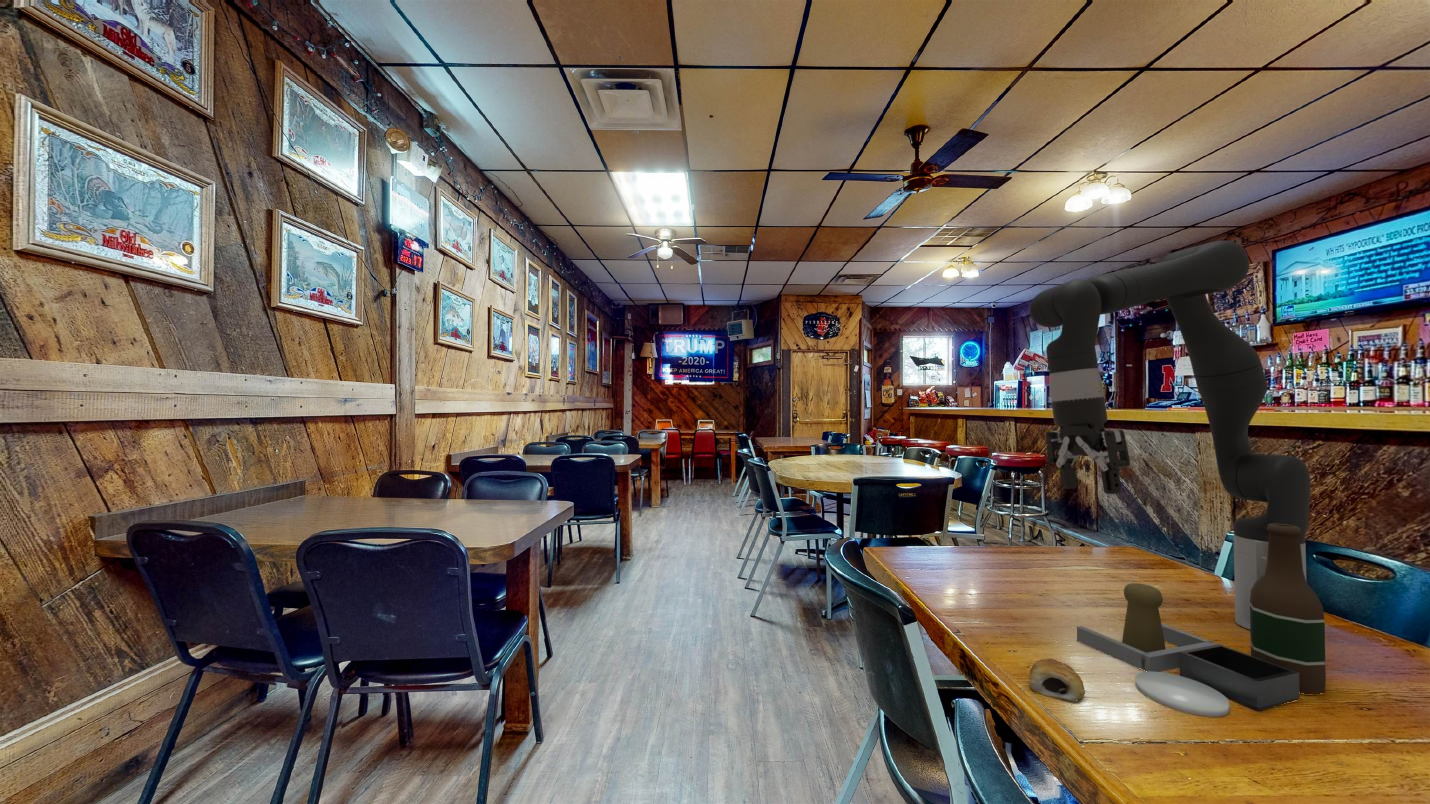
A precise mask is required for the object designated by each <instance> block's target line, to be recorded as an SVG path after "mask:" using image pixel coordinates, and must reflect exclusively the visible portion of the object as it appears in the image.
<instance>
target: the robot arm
mask: <svg viewBox="0 0 1430 804" xmlns="http://www.w3.org/2000/svg"><path fill="white" fill-rule="evenodd" d="M1249 268H1250V259H1249V254H1248V253H1247V250H1245V248H1244V247H1243V246H1242V245H1240V244H1239V243H1237V242H1235V241H1231V240H1217V241H1210V242H1207V243H1204V244H1200V245H1196V246H1192V247H1188V248H1185V249H1181V250H1178V251H1174V252H1171V253H1169V254H1167V255H1165V257H1163V259H1162V260H1161V262H1157V263H1152V264H1147V265H1146V264H1145V265H1142V266H1135V267H1131V268H1125V269H1121V270H1116V271H1112V272H1108V273H1103V274H1100V275H1097V276H1095V277H1092V278H1089V279H1083V278H1075V279H1072V280H1069V281H1066V282H1063V283H1061V284H1058V285H1056V286H1053V287H1049V288H1047V289H1044V290H1043V291H1042V290H1041V291H1040V292H1039V293H1038V294H1036V295H1035V296H1034V298H1033V299H1032V301H1031V302H1030V305H1029V315H1030V318H1031V319H1032V320H1033V322H1035V323H1036V324H1038V325H1039V326H1041V327H1044V328H1059V327H1061V326H1062V327H1061V332H1060V335H1059V336H1058V337H1057V338H1055V339H1054V340H1052V341H1050V342H1049V343H1048V344H1047V346H1046V349H1045V350H1046V353H1045V354H1046V360H1047V367H1048V373H1049V383H1048V384H1049V386H1048V387H1049V394H1050V400H1051V409H1052V410H1051V411H1052V416H1053V422H1054V425H1055V426H1058V427H1060V429H1059V430H1050V431H1046V432H1045V439H1046V449H1047V450H1046V451H1047V460H1048V461H1047V462H1048V463H1049V464H1053V465H1056V467H1057V468H1059V473H1060V474H1059V475H1060V481H1061V484H1062V487H1063V489H1064V490H1065V489H1066V490H1070V489H1072V490H1073V489H1076V488H1078V482H1077V475H1076V468H1075V466H1074V465H1075V463H1076V461H1077V459H1078V458H1079V457H1081V456H1082V457H1089V459H1090V460H1092V461H1093V462H1095V463H1096V464H1097V465H1098V466H1099V468H1100V469H1101V471H1100V473H1101V474H1100V475H1101V481H1102V487H1103V492H1104V493H1105V494H1107V495H1113V494H1119V493H1120V492H1121V487H1122V485H1121V478H1120V470H1121V469H1122V468H1125V467H1129V466H1131V461H1130V460H1131V459H1130V455H1129V449H1128V445H1127V439H1126V435H1125V431H1124V430H1123V429H1121V428H1118V429H1112V430H1111V429H1110V430H1106V428H1105V426H1104V425H1105V424H1106V423H1107V421H1108V413H1107V406H1106V400H1105V399H1106V398H1105V394H1104V393H1105V392H1104V386H1103V380H1102V377H1101V373H1100V371H1099V364H1098V358H1097V350H1096V342H1097V335H1098V330H1099V323H1100V320H1101V319H1100V318H1101V315H1107V314H1112V313H1116V312H1119V311H1123V310H1127V309H1130V308H1134V307H1138V306H1141V305H1145V304H1148V303H1151V302H1154V301H1158V300H1162V299H1166V303H1167V304H1168V306H1169V309H1170V311H1171V313H1172V315H1173V317H1174V319H1175V322H1176V325H1177V326H1178V328H1179V331H1180V334H1181V337H1182V340H1183V342H1184V345H1185V349H1186V351H1187V354H1188V358H1189V361H1190V364H1191V369H1192V372H1193V377H1194V380H1195V383H1196V386H1197V388H1198V392H1199V395H1200V397H1201V401H1202V403H1203V407H1204V409H1205V414H1206V417H1207V420H1208V425H1209V427H1210V431H1211V436H1212V441H1213V442H1212V443H1213V445H1214V446H1213V447H1214V453H1215V458H1216V460H1215V461H1216V466H1217V470H1218V475H1219V480H1220V481H1221V484H1222V487H1223V488H1224V490H1225V491H1226V492H1227V494H1229V496H1232V497H1233V498H1237V499H1240V500H1245V501H1246V500H1247V501H1254V502H1259V503H1267V505H1266V509H1265V512H1264V513H1263V514H1260V515H1258V516H1254V517H1245V518H1242V517H1241V518H1238V519H1236V520H1234V523H1233V551H1234V552H1233V554H1234V555H1233V559H1234V560H1233V561H1234V562H1233V563H1234V565H1233V566H1234V567H1233V568H1234V570H1233V571H1234V618H1235V619H1234V620H1235V623H1236V624H1237V625H1239V626H1241V627H1243V628H1245V629H1247V630H1250V594H1251V589H1252V587H1253V586H1254V584H1255V582H1256V581H1257V580H1258V579H1259V578H1260V577H1262V576H1263V575H1264V574H1265V570H1266V566H1267V556H1268V542H1269V531H1267V530H1266V528H1267V526H1268V524H1272V523H1279V524H1288V525H1294V526H1297V527H1299V528H1300V529H1301V532H1302V534H1303V535H1301V536H1299V537H1300V546H1301V556H1302V565H1303V572H1304V576H1305V580H1306V581H1307V558H1306V556H1307V555H1306V553H1307V552H1306V534H1307V531H1308V528H1309V521H1310V501H1311V488H1312V487H1311V475H1310V471H1309V468H1308V466H1307V465H1306V463H1305V462H1304V461H1303V460H1302V459H1300V458H1299V457H1296V456H1291V455H1283V454H1282V455H1278V454H1267V453H1265V454H1264V453H1254V452H1253V450H1252V448H1251V445H1250V441H1249V434H1248V433H1249V432H1248V431H1249V426H1250V423H1251V421H1252V420H1253V418H1254V416H1255V415H1256V413H1257V412H1258V410H1259V408H1260V406H1261V405H1262V403H1263V401H1264V400H1265V398H1266V395H1267V390H1268V383H1267V379H1266V378H1267V377H1266V375H1265V371H1264V368H1263V364H1262V361H1261V358H1260V355H1259V354H1258V352H1257V350H1256V349H1255V348H1254V347H1252V345H1251V344H1250V343H1249V342H1247V341H1246V340H1245V339H1244V338H1243V337H1241V336H1240V335H1238V333H1236V332H1235V331H1233V330H1232V329H1231V328H1229V327H1228V326H1227V325H1226V324H1225V323H1223V322H1222V321H1221V320H1220V319H1219V318H1218V317H1217V315H1216V314H1215V313H1214V311H1213V309H1212V307H1211V305H1210V303H1209V300H1208V297H1207V295H1209V294H1215V293H1219V292H1220V293H1221V292H1222V291H1223V292H1224V291H1227V290H1230V289H1232V288H1234V287H1236V286H1238V285H1239V284H1240V283H1241V282H1243V281H1244V279H1245V278H1246V277H1247V275H1248V273H1249V270H1250V269H1249ZM1056 454H1057V456H1056ZM1118 454H1119V458H1118Z"/></svg>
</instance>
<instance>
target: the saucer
mask: <svg viewBox="0 0 1430 804" xmlns="http://www.w3.org/2000/svg"><path fill="white" fill-rule="evenodd" d="M1136 686H1137V687H1136ZM1135 687H1136V689H1137V688H1138V689H1139V690H1140V691H1141V692H1142V693H1143V695H1144V694H1145V695H1146V696H1145V695H1144V696H1145V697H1147V696H1148V697H1149V699H1150V700H1152V701H1153V702H1156V703H1158V704H1160V705H1163V706H1165V707H1167V708H1169V709H1173V710H1176V711H1179V712H1182V713H1185V714H1186V713H1187V714H1191V715H1195V716H1200V717H1208V718H1218V717H1219V718H1221V717H1224V716H1227V715H1228V714H1229V713H1230V701H1229V699H1228V698H1226V697H1225V696H1224V695H1223V694H1221V693H1220V692H1218V691H1217V690H1215V689H1213V688H1211V687H1209V686H1207V685H1205V684H1203V683H1200V682H1198V681H1195V680H1192V679H1189V678H1186V677H1182V676H1180V675H1177V674H1174V673H1169V672H1163V671H1159V672H1154V671H1147V672H1146V671H1140V672H1139V673H1137V674H1136V675H1135ZM1138 689H1137V690H1138ZM1139 690H1138V691H1139ZM1140 691H1139V692H1140ZM1141 692H1140V693H1141ZM1142 693H1141V694H1142ZM1148 697H1147V698H1148Z"/></svg>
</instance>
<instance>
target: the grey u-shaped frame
mask: <svg viewBox="0 0 1430 804" xmlns="http://www.w3.org/2000/svg"><path fill="white" fill-rule="evenodd" d="M1161 625H1162V631H1163V636H1164V642H1166V641H1167V642H1166V643H1169V644H1171V643H1172V645H1174V646H1177V647H1171V648H1166V649H1165V650H1159V651H1154V652H1149V653H1146V652H1143V651H1141V650H1138V649H1136V648H1134V647H1131V646H1129V645H1126V644H1124V643H1122V641H1119V640H1116V639H1114V638H1111V636H1107V635H1105V634H1102V633H1100V632H1097V631H1095V630H1094V629H1090V628H1088V627H1086V626H1082V625H1080V626H1076V641H1077V642H1079V641H1080V642H1079V643H1081V642H1082V643H1081V644H1083V643H1084V645H1085V644H1086V646H1089V647H1090V648H1091V649H1094V648H1095V650H1097V651H1099V650H1100V652H1101V651H1102V652H1101V653H1103V652H1104V653H1103V654H1105V653H1106V655H1108V656H1110V655H1111V656H1110V657H1112V658H1114V659H1117V660H1119V661H1120V662H1123V663H1125V662H1126V663H1125V664H1128V665H1130V666H1133V667H1134V666H1135V668H1136V669H1139V668H1141V669H1143V670H1145V671H1144V672H1146V671H1154V672H1158V671H1159V672H1163V670H1164V671H1168V670H1172V669H1173V670H1174V669H1178V668H1179V652H1180V651H1185V650H1190V649H1196V648H1201V647H1206V646H1212V645H1217V644H1219V642H1215V641H1213V640H1212V641H1211V640H1209V639H1206V638H1203V637H1200V636H1197V635H1195V634H1192V633H1189V632H1186V631H1184V630H1181V629H1178V628H1175V627H1172V626H1170V625H1167V624H1164V623H1162V622H1161ZM1141 669H1140V670H1141ZM1143 670H1142V671H1143Z"/></svg>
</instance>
